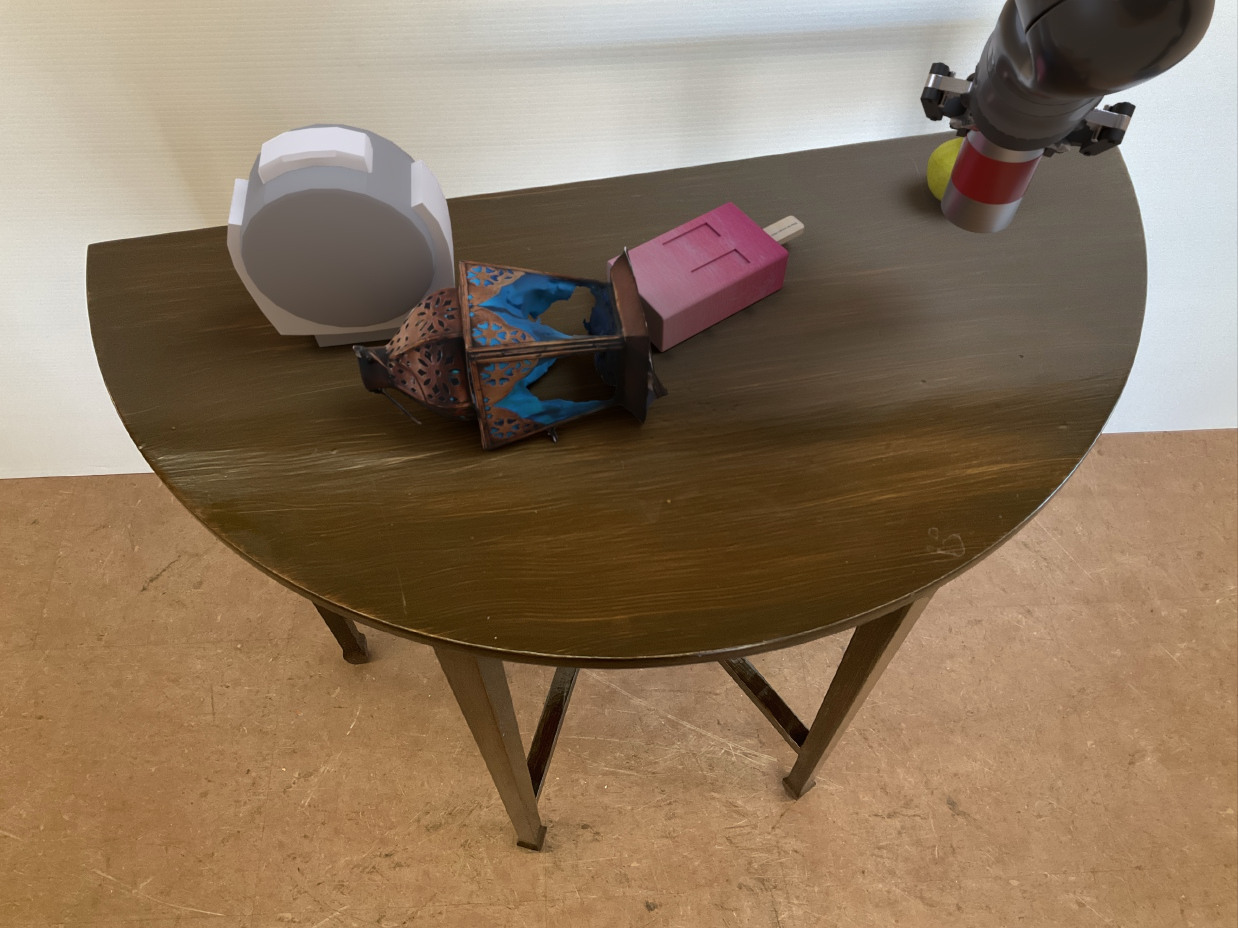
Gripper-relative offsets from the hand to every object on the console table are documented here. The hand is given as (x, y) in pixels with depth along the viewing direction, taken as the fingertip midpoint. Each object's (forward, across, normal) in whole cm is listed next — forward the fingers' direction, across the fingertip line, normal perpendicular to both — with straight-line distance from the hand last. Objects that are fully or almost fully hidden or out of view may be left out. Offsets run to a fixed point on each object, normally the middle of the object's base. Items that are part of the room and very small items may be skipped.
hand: (1006, 133), depth 68 cm
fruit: (+23, +2, +2) cm, 24 cm away
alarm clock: (-4, +50, +30) cm, 58 cm away
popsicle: (+9, +21, +18) cm, 29 cm away
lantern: (-6, +32, +32) cm, 46 cm away
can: (+3, 0, +6) cm, 7 cm away
